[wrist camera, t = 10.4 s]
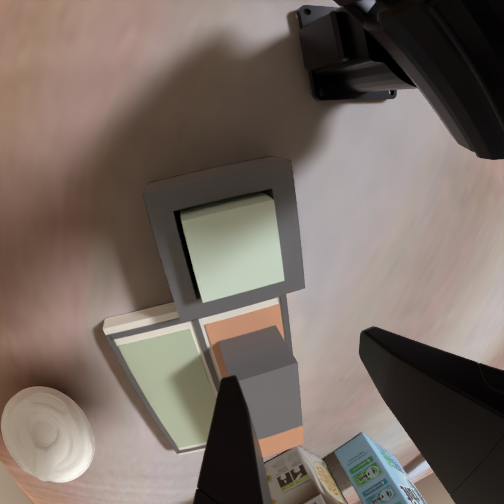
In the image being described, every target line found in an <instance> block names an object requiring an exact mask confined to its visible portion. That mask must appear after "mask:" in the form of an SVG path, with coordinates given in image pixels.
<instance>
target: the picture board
mask: <svg viewBox="0 0 504 504" xmlns="http://www.w3.org/2000/svg"><path fill="white" fill-rule="evenodd" d="M274 325H276V327H277V328H278V330H279V332H280V334H281V335H282V337H283V339H284V340H285V342H286V344H287V346H288V347H289V349H290V351H291V352H292V354H293V351H292V342H291V333H290V324H289V315H288V307H287V298H286V294H284V295H281V296H277V297H274V298H270V299H267V300H263V301H260V302H256V303H253V304H249V305H246V306H242V307H238V308H235V309H231V310H228V311H224V312H220V313H216V314H213V315H209V316H205V317H201V318H197V319H194V320H190V321H186V322H182V323H181V321H180V318H179V315H178V312H177V309H176V306H175V303H174V302H171V303H167V304H163V305H159V306H155V307H151V308H147V309H143V310H139V311H135V312H131V313H127V314H123V315H118V316H114V317H110V318H106V319H105V321H104V326H103V331H104V333H105V335H106V338H107V340H108V342H109V344H110V346H111V348H112V350H113V352H114V354H115V356H116V358H117V359H118V361H119V363H120V365H121V367H122V369H123V370H124V372H125V374H126V376H127V377H128V379H129V381H130V383H131V384H132V386H133V388H134V389H135V391H136V393H137V394H138V396H139V398H140V399H141V401H142V403H143V404H144V406H145V407H146V409H147V411H148V412H149V414H150V415H151V417H152V418H153V420H154V421H155V423H156V424H157V426H158V427H159V429H160V430H161V432H162V433H163V435H164V436H165V438H166V439H167V440H168V442H169V443H170V445H171V446H172V447H173V449H174V450H175V452H176V453H177V454H178V455H183V454H188V453H193V452H198V451H202V450H205V447H206V443H207V438H208V434H209V429H210V425H211V420H212V416H213V411H214V407H215V402H216V398H217V393H218V389H219V384H220V380H221V379H222V378H223V377H227V376H228V372H227V369H226V366H225V362H224V359H223V356H222V352H221V349H220V346H219V342H218V341H221V340H225V339H229V338H233V337H236V336H240V335H243V334H247V333H250V332H254V331H257V330H261V329H264V328H267V327H271V326H274Z"/></svg>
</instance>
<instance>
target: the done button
mask: <svg viewBox="0 0 504 504" xmlns="http://www.w3.org/2000/svg"><path fill="white" fill-rule="evenodd" d="M180 216H181V222H182V226H183V230H184V234H185V238H186V242H187V246H188V250H189V254H190V258H191V261H192V265H193V269H194V273H195V276H196V280H197V284H198V287H199V291H200V295H201V298H202V302H203V303H205V302H209V301H212V300H216V299H220V298H224V297H227V296H231V295H235V294H239V293H242V292H246V291H249V290H253V289H257V288H260V287H264V286H267V285H271V284H275V283H278V282H282V281H285V280H284V272H283V264H282V256H281V248H280V241H279V233H278V226H277V218H276V211H275V204H274V199H272V198H271V197H269V196H268V195H266V194H264V193H263V192H261V191H258V192H253V193H249V194H244V195H240V196H235V197H231V198H226V199H222V200H217V201H213V202H209V203H205V204H201V205H196V206H192V207H188V208H184V209H180Z"/></svg>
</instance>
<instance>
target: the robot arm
mask: <svg viewBox="0 0 504 504" xmlns="http://www.w3.org/2000/svg"><path fill="white" fill-rule="evenodd" d="M334 1H335V2H336V3H337V4H338V5H339V6H341V7H339V8H335V7H325V6H312V5H303V6H302V7H300V8H299V9H298V11H297V14H298V19H299V24H300V29H301V30H300V31H299V37H300V42H301V47H302V53H303V58H304V64H305V68H306V69H307V70H308V72H309V78H310V84H311V90H312V95H313V97H314V98H315V99H316V100H318V101H326V100H347V99H394V98H395V97H396V95H397V91H396V90H398V89H415V88H418V89H419V90H420V92H421V93H422V94H423V96H424V97H425V98H426V100H427V101H428V102H429V104H430V105H431V106H432V108H433V109H434V111H435V112H436V113H437V115H438V116H439V118H440V119H441V120H442V122H443V123H444V125H445V126H446V128H447V129H448V131H449V132H450V134H451V135H452V136H453V138H454V139H455V140H456V141H457V143H458V144H460V145H461V146H463V147H465V148H467V149H469V150H470V151H473V152H475V153H476V155H477V157H479V158H484V159H490V160H497V159H504V0H334ZM304 10H305V11H307V12H308V15H306V14H305V13H304ZM319 90H322V92H323V95H322V96H320V95H319ZM389 90H390V92H391V93H390V94H389ZM359 355H360V358H361V360H362V362H363V364H364V366H365V368H366V369H367V371H368V373H369V375H370V377H371V378H372V380H373V382H374V384H375V386H376V388H377V389H378V391H379V393H380V395H381V397H382V398H383V400H384V401H385V403H386V404H387V406H388V407H389V408H390V410H391V411H392V413H393V414H394V415H395V417H396V418H397V420H398V421H399V422H400V424H401V425H402V427H403V428H404V430H405V431H406V432H407V434H408V435H409V437H410V438H411V440H412V441H413V442H414V444H415V445H416V447H417V448H418V450H419V451H420V452H421V454H422V455H423V457H424V458H425V460H426V461H427V462H428V464H429V465H430V467H431V468H432V470H433V471H434V473H435V474H436V476H437V477H438V478H439V480H440V481H441V483H442V484H443V486H444V487H445V489H446V490H447V492H448V493H449V494H450V496H451V498H452V499H453V501H454V502H455V503H456V504H504V370H501V369H497V368H494V367H491V366H488V365H485V364H482V363H479V364H478V362H475V361H472V360H469V359H466V358H463V357H460V356H457V355H455V354H452V353H449V352H446V351H443V350H440V349H437V348H434V347H431V346H428V345H426V344H423V343H420V342H417V341H414V340H411V339H409V338H406V337H403V336H400V335H397V334H395V333H392V332H389V331H386V330H383V329H381V328H378V327H374V326H373V327H370V328H367V329H365V330H363V331H362V332H361V334H360V344H359ZM197 488H198V489H196V492H195V496H194V501H193V504H273V503H272V498H271V494H270V489H269V485H268V480H267V475H266V471H265V466H264V461H263V457H262V452H261V448H260V445H259V441H258V438H257V435H256V432H255V428H254V425H253V422H252V418H251V415H250V412H249V408H248V405H247V402H246V399H245V397H244V394H243V391H242V388H241V386H240V383H239V380H238V377H237V375H235V374H234V375H230V376H227V377H223V378H222V379H221V380H220V384H219V389H218V393H217V398H216V402H215V407H214V411H213V416H212V420H211V425H210V429H209V434H208V438H207V443H206V447H205V452H204V456H203V461H202V465H201V470H200V474H199V479H198V484H197Z"/></svg>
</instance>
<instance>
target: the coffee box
mask: <svg viewBox="0 0 504 504" xmlns="http://www.w3.org/2000/svg"><path fill="white" fill-rule="evenodd" d="M264 466H265V471H266V475H267V480H268V485H269V489H270V494H271V498H272V503H273V504H348V503H347V501H346V499H345V497H344V496H343V494H342V492H341V490H340V488H339V487H338V485H337V483H336V481H335V479H334V477H333V476H332V474H331V472H330V470H329V468H328V466H327V465H326V463H325V461H324V460H322V459H320V458H319V457H317V456H315V455H313V454H311V453H309V452H308V451H306V450H304V449H302V448H300V447H298V446H296V447H293V448H292V449H290V450H288V451H286V452H285V453H283V454H281V455H279V456H278V457H276V458H274V459H272V460H270V461H268V462H266V463H265V464H264Z"/></svg>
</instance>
